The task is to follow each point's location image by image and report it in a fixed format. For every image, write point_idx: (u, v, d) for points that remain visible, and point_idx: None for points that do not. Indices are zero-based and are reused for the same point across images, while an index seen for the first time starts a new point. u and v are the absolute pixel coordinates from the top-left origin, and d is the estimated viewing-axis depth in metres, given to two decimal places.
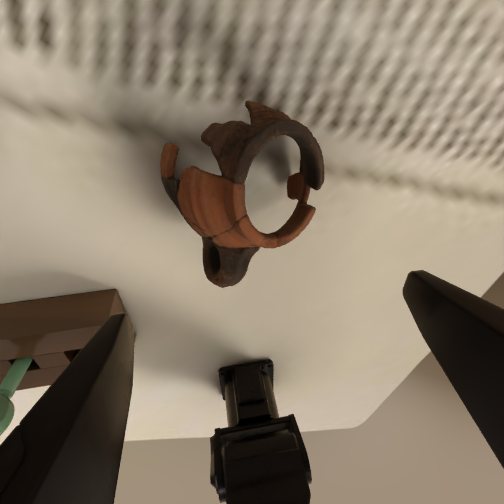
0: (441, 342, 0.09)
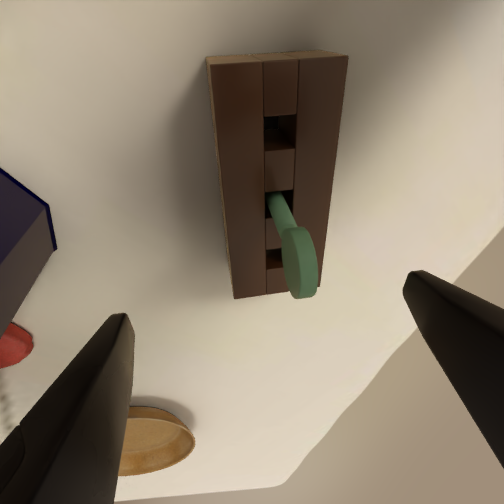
0: (441, 342, 0.09)
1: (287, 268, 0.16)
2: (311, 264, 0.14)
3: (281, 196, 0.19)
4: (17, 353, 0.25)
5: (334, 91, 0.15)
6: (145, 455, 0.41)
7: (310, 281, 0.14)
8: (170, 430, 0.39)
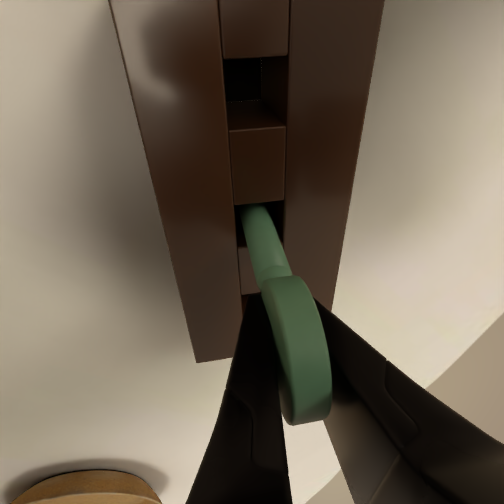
0: None
1: None
2: (318, 372, 0.06)
3: (264, 211, 0.11)
4: None
5: (365, 7, 0.08)
6: None
7: (315, 405, 0.07)
8: None
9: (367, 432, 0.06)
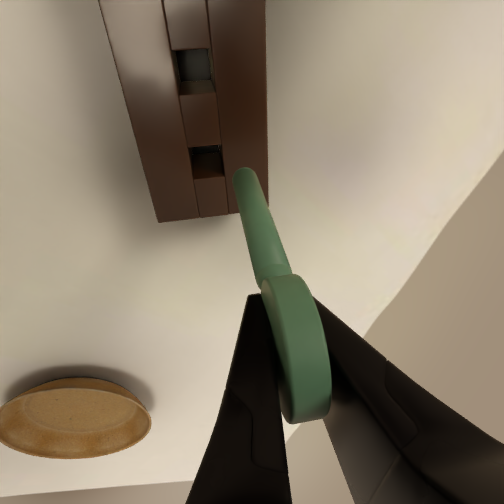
0: None
1: None
2: (317, 372, 0.06)
3: (264, 207, 0.11)
4: None
5: None
6: (99, 436, 0.37)
7: (314, 405, 0.07)
8: (125, 407, 0.35)
9: (368, 432, 0.06)
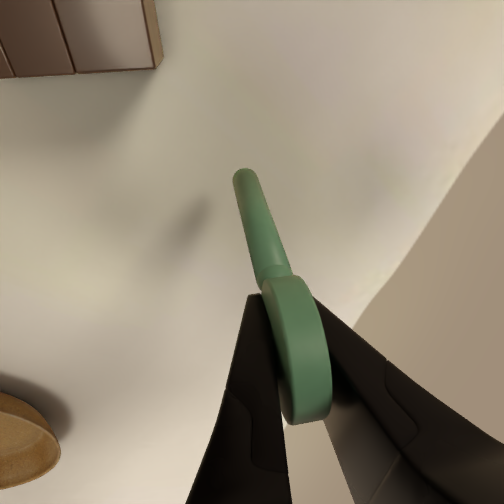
0: None
1: None
2: (318, 374, 0.06)
3: (264, 208, 0.11)
4: None
5: None
6: (0, 463, 0.28)
7: (315, 407, 0.07)
8: (28, 425, 0.26)
9: (368, 432, 0.06)
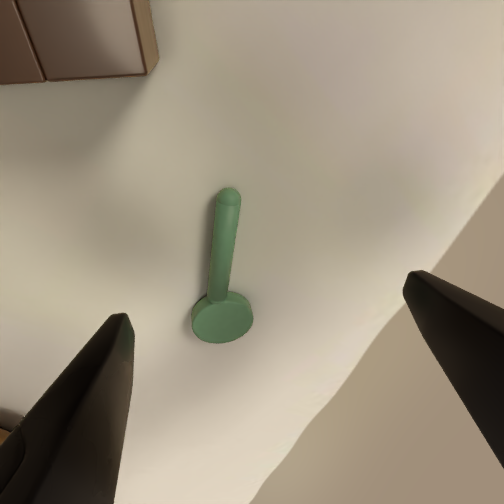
0: (441, 342, 0.09)
1: None
2: None
3: (213, 255, 0.15)
4: None
5: None
6: None
7: None
8: None
9: None
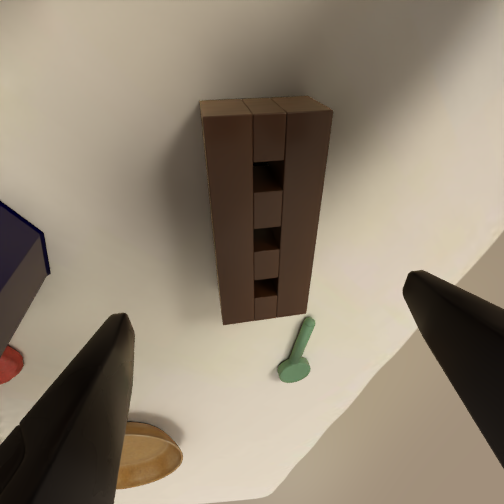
0: (441, 342, 0.09)
1: None
2: None
3: (298, 344, 0.31)
4: (7, 373, 0.26)
5: (320, 140, 0.16)
6: (132, 469, 0.41)
7: None
8: (158, 445, 0.40)
9: None
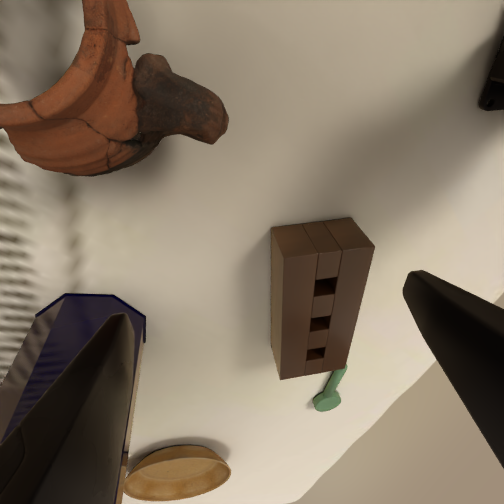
0: (441, 342, 0.09)
1: None
2: None
3: (332, 382, 0.38)
4: None
5: (364, 264, 0.22)
6: (185, 483, 0.48)
7: None
8: (208, 462, 0.46)
9: None
